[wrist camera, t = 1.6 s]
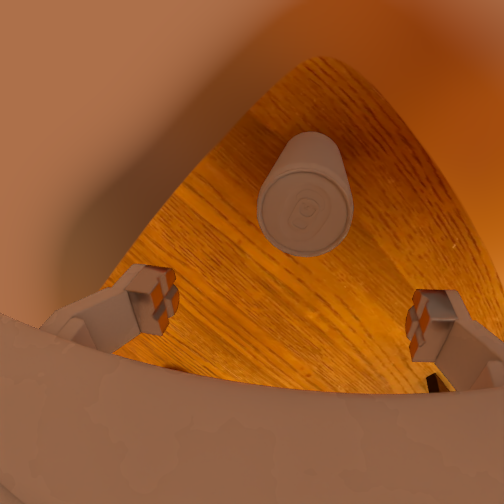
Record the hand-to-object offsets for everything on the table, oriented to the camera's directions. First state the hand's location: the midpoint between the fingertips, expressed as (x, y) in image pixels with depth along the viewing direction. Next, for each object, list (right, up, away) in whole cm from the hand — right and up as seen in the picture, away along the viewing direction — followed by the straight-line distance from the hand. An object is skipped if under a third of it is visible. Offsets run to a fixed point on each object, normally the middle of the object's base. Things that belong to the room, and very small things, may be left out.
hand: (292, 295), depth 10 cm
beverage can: (+4, +9, +15) cm, 18 cm away
